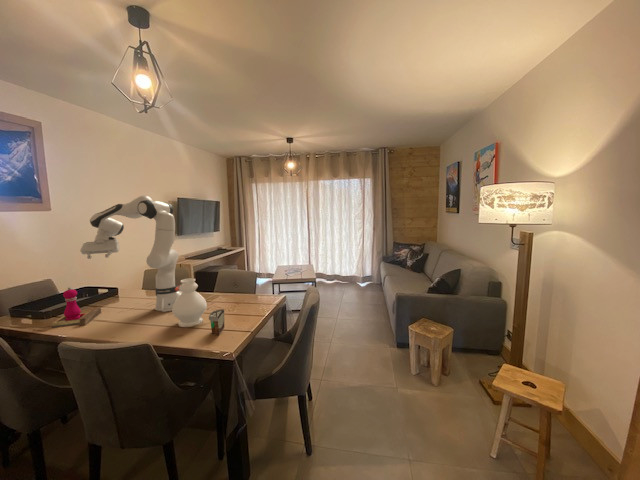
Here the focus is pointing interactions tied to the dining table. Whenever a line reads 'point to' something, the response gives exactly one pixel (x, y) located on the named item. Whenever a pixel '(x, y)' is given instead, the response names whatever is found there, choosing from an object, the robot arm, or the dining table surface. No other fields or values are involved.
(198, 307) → the decorative vase
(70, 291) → the pepper mill
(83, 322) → the walnut sill
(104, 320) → the dining table surface
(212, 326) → the food container
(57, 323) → the index plate
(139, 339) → the dining table surface
